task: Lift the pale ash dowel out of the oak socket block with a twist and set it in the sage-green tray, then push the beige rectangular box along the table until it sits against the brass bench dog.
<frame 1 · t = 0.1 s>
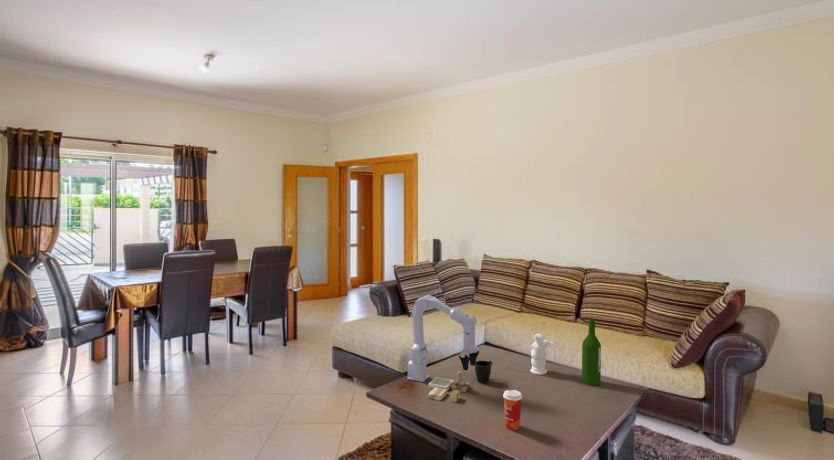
hand: (469, 367, 213), 10 cm above the table, fingers open, 7 cm apart
mug: (485, 380, 223), on the table
cherub figurine: (541, 373, 233), on the table
socket block: (460, 388, 213), on the table
beige rectangular box: (437, 396, 204), on the table
paper cup: (512, 427, 174), on the table
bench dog: (455, 399, 200), on the table
dowel: (460, 380, 212), in the socket block
tray: (441, 385, 216), on the table
wine bottle: (591, 383, 219), on the table
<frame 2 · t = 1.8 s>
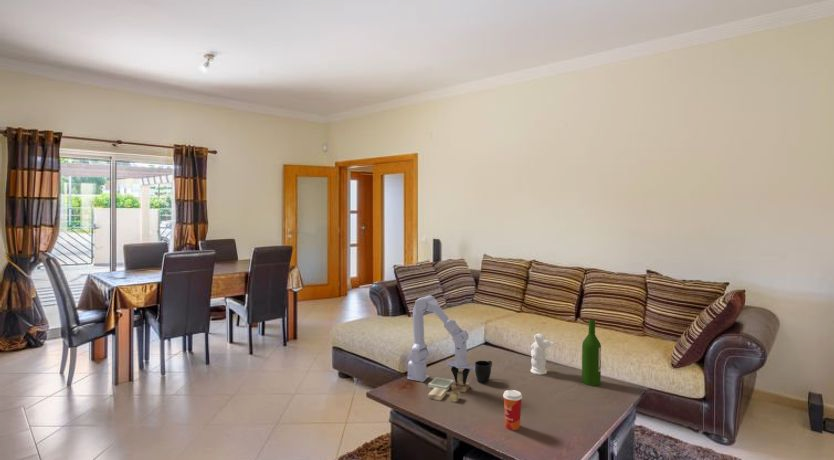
hand: (460, 382, 212), 3 cm above the table, fingers closed on dowel, 3 cm apart
dowel: (460, 380, 212), in the socket block, touching gripper
everything else where it was.
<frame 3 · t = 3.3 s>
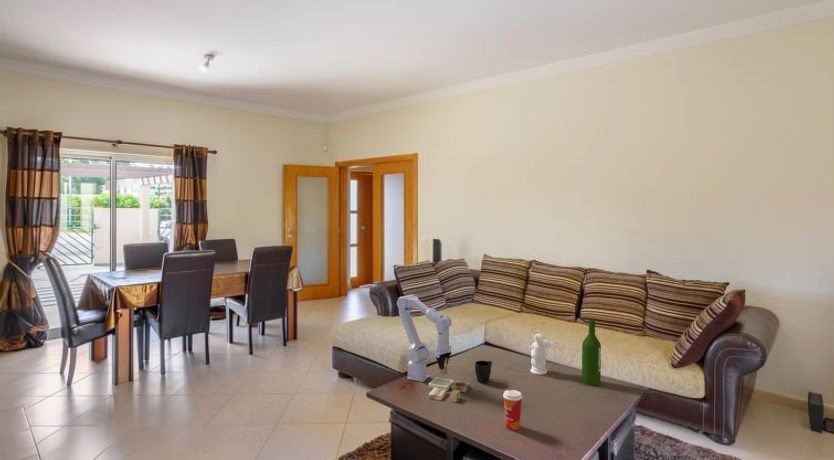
hand: (443, 367, 215), 9 cm above the table, fingers closed on dowel, 3 cm apart
dowel: (443, 365, 215), point 10 cm above the table, touching gripper
everything else where it was.
when the fingers open (4 cm above the table, at t = 4.7 s): dowel stays where it is, resting on tray.
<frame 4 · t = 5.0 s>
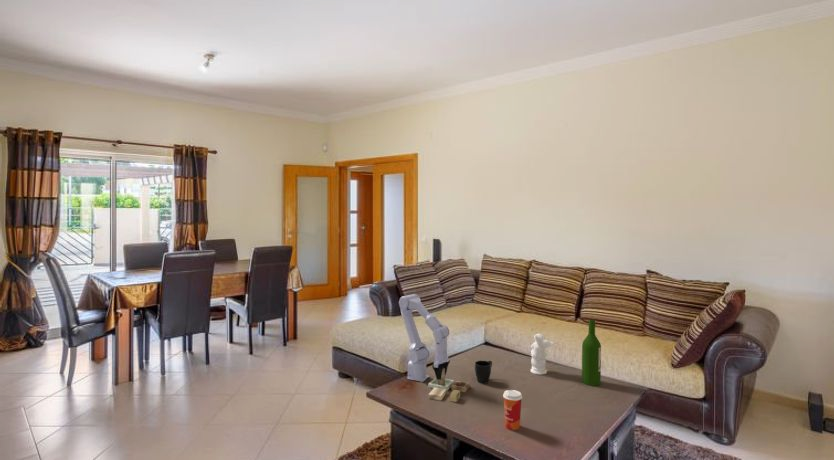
hand: (441, 377, 216), 4 cm above the table, fingers open, 6 cm apart
dowel: (441, 376, 216), in the tray, point 5 cm above the table
everything else where it was.
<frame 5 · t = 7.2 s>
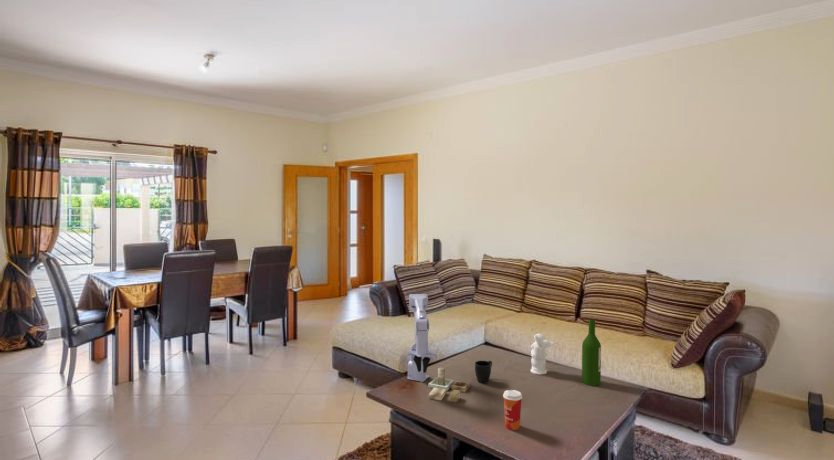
hand: (422, 371, 207), 10 cm above the table, fingers closed
nothing on the table moved.
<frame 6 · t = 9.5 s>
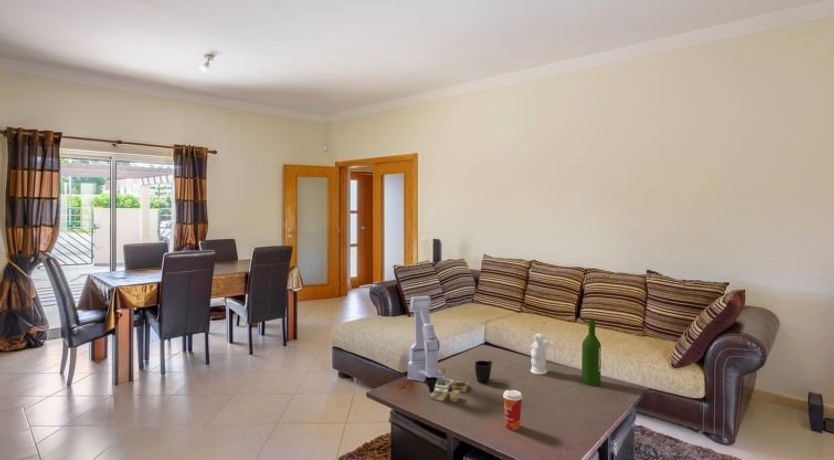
hand: (431, 391, 205), 1 cm above the table, fingers closed
beige rectangular box: (439, 397, 203), on the table, touching gripper
everything else where it was.
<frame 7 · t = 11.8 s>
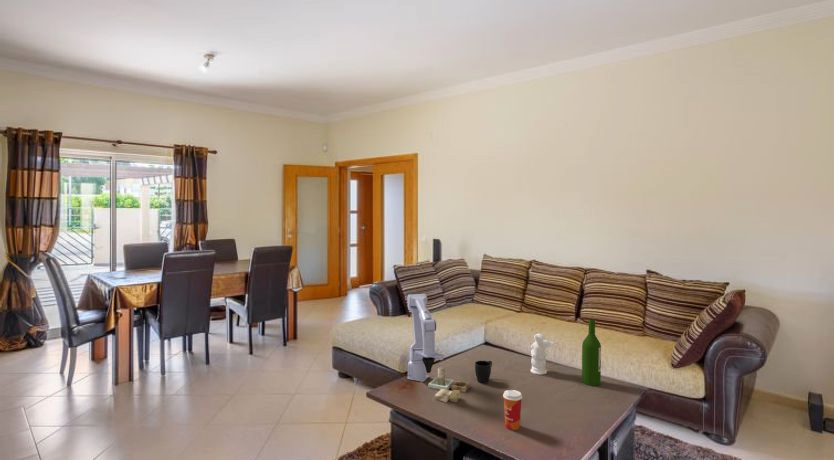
hand: (428, 372, 206), 10 cm above the table, fingers closed
beige rectangular box: (443, 398, 202), on the table
everything else where it was.
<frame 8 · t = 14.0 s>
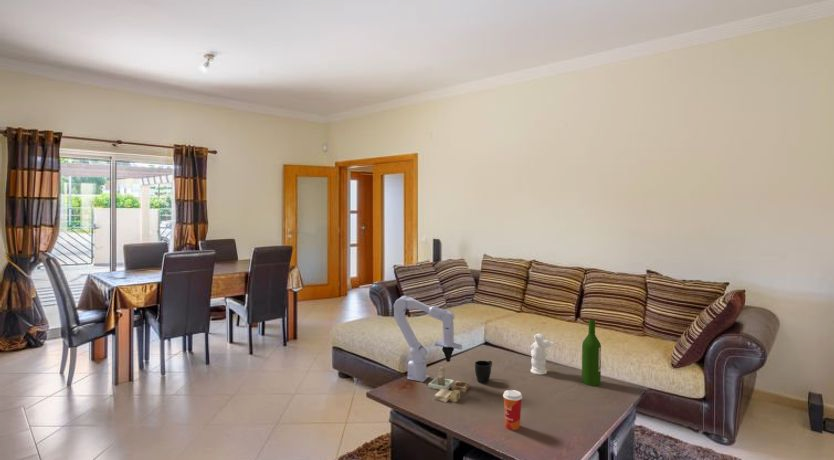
hand: (448, 361, 221), 10 cm above the table, fingers closed
nothing on the table moved.
at the end: dowel 0.1 cm off-centre on the tray, point 4.7 cm above the tray's base; beige rectangular box 0.9 cm from the target spot, on the table; the gripper is holding nothing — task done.
